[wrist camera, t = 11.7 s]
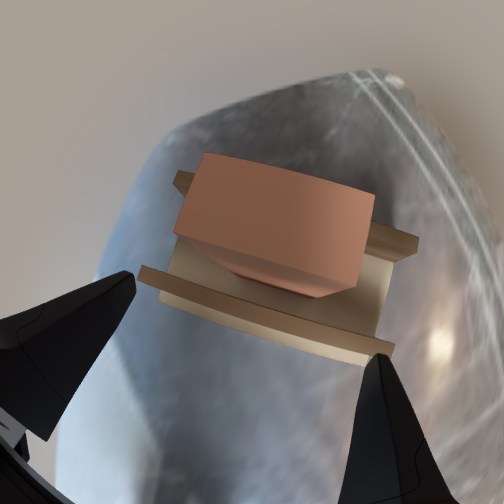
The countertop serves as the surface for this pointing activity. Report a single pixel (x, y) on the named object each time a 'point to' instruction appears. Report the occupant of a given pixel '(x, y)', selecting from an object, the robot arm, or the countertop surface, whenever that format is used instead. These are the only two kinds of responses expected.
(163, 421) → the countertop surface
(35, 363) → the robot arm
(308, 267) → the salmon orange rectangular block
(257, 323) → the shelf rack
